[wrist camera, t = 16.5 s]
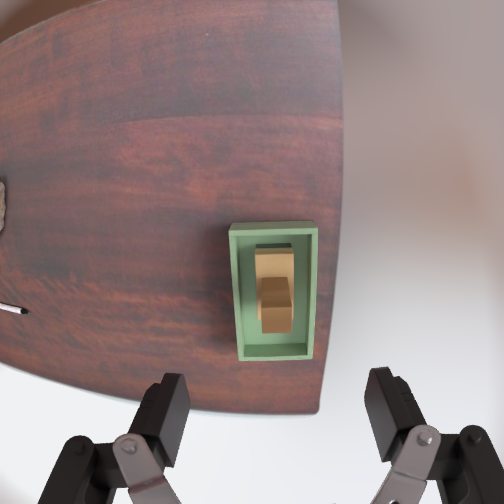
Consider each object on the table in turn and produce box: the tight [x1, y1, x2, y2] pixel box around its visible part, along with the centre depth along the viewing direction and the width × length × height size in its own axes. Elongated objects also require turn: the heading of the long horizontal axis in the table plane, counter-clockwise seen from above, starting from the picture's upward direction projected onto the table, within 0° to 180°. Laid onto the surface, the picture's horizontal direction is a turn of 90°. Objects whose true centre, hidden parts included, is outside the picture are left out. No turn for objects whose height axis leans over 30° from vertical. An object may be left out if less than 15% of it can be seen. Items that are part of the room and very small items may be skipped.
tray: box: [229, 221, 318, 361], centre depth 33 cm, size 15×8×3 cm, turn 3°
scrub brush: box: [255, 243, 294, 334], centre depth 28 cm, size 7×4×10 cm, turn 3°
